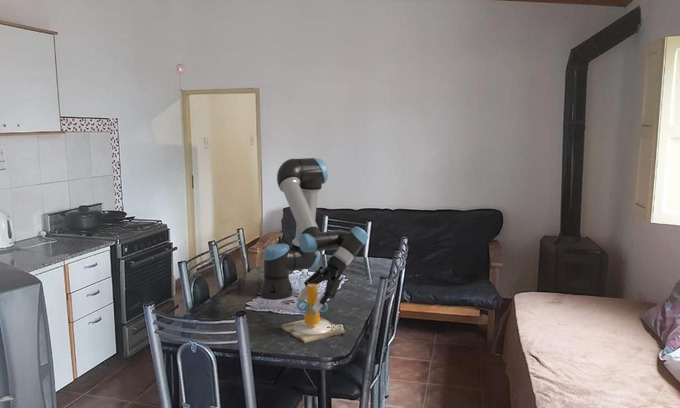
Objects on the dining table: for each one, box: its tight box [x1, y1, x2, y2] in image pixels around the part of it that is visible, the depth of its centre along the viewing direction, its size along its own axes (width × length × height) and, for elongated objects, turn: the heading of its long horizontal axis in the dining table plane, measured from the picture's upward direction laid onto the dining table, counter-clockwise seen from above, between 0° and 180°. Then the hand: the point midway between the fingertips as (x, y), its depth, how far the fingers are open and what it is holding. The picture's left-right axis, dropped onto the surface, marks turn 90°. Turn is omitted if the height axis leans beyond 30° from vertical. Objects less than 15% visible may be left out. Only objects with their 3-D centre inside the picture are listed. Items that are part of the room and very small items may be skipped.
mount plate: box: [280, 316, 346, 344], centre depth 206 cm, size 18×18×1 cm
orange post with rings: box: [296, 284, 329, 325], centre depth 205 cm, size 12×10×15 cm
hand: (306, 305), depth 203 cm, fingers closed on orange post with rings, 11 cm apart
